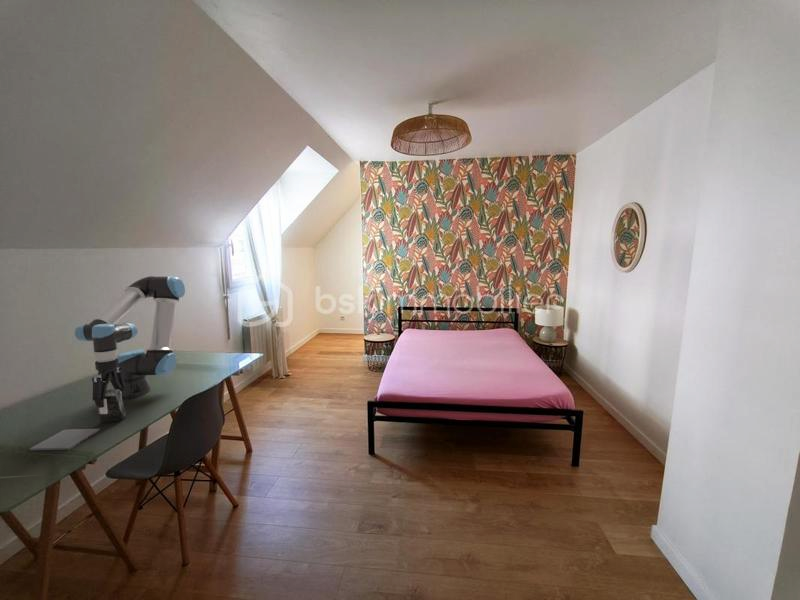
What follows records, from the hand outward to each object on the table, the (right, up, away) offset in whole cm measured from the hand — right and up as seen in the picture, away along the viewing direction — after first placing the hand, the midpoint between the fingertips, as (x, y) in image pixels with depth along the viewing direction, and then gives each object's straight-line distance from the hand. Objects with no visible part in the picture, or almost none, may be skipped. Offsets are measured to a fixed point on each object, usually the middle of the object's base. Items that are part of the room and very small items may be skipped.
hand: (111, 409), depth 146 cm
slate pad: (-6, -8, -14) cm, 17 cm away
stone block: (0, -6, +1) cm, 6 cm away
